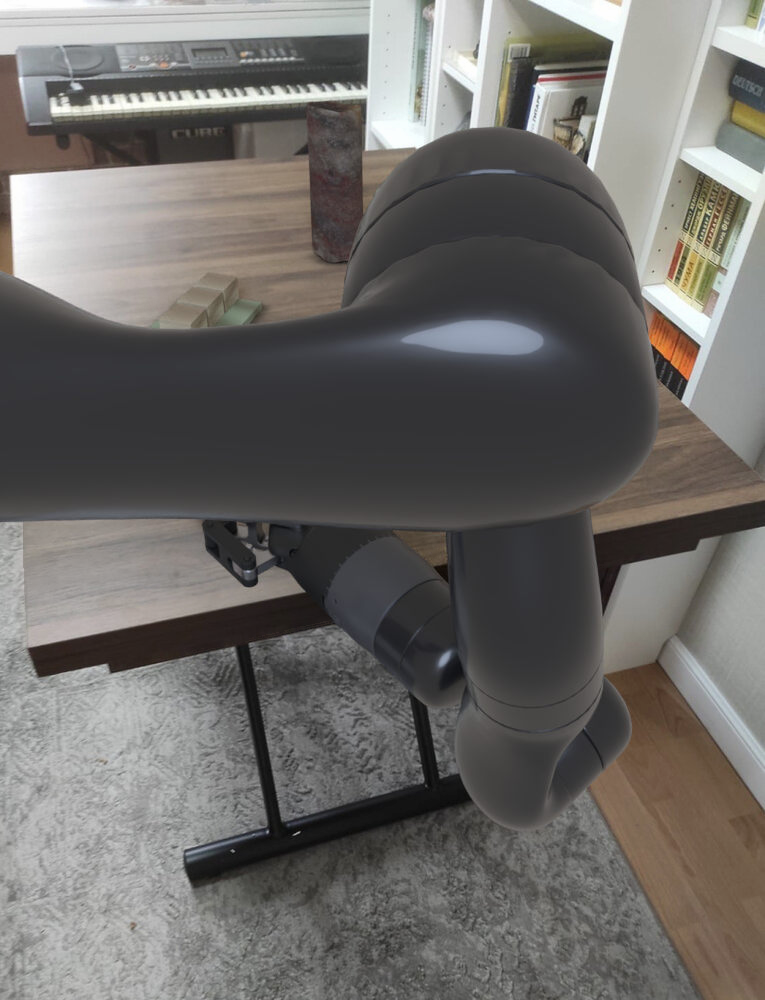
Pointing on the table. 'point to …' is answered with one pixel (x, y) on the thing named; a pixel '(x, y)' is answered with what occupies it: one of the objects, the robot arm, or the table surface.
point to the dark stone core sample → (335, 177)
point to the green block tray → (210, 305)
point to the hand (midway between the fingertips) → (250, 470)
